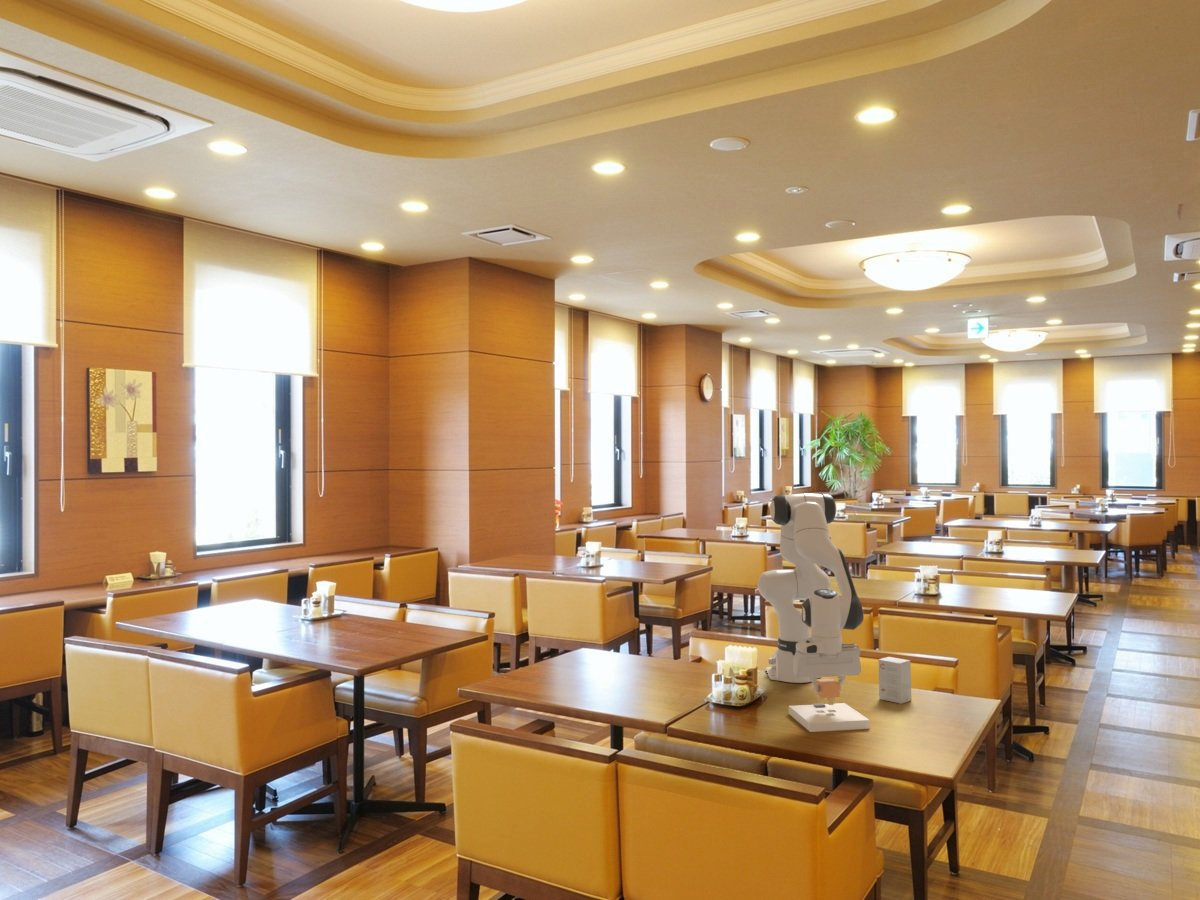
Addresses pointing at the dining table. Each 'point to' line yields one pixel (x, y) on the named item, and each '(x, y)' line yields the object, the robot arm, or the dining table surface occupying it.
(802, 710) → the socket plate
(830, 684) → the plug
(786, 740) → the dining table surface
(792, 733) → the dining table surface
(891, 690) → the small box
